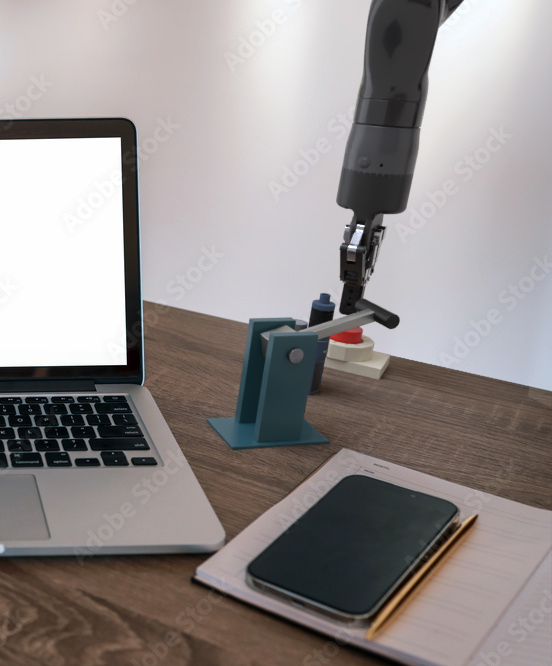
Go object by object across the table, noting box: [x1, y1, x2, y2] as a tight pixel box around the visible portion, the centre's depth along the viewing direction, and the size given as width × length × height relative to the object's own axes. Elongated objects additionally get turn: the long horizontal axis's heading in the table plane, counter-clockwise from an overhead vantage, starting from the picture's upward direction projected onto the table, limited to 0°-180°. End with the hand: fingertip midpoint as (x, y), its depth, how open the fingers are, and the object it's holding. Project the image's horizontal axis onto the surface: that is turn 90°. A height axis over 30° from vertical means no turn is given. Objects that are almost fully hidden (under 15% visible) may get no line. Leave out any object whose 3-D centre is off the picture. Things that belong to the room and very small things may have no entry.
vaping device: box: [293, 292, 336, 396], centre depth 85 cm, size 3×5×12 cm, turn 40°
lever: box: [260, 297, 401, 358], centre depth 73 cm, size 12×5×2 cm, turn 103°
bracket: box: [205, 316, 330, 451], centre depth 74 cm, size 10×6×12 cm, turn 103°
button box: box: [324, 333, 391, 381], centre depth 94 cm, size 10×6×4 cm, turn 58°
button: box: [330, 326, 364, 344], centre depth 93 cm, size 4×4×2 cm
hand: (349, 313), depth 92 cm, fingers closed
